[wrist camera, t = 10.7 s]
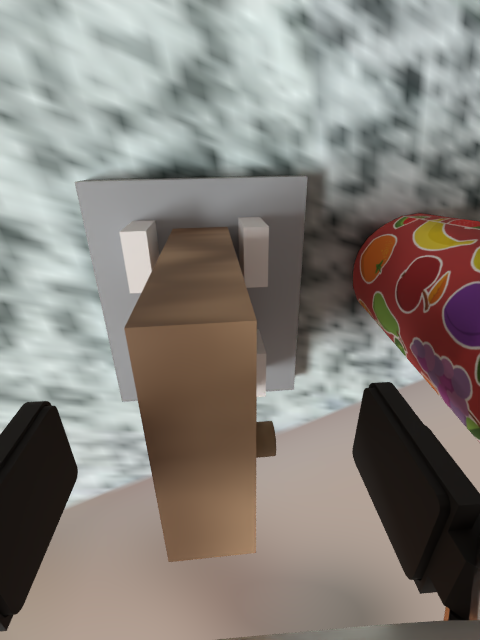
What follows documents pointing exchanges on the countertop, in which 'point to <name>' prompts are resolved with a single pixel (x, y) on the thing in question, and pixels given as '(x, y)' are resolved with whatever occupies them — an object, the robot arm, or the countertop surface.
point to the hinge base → (200, 212)
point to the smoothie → (429, 301)
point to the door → (200, 394)
